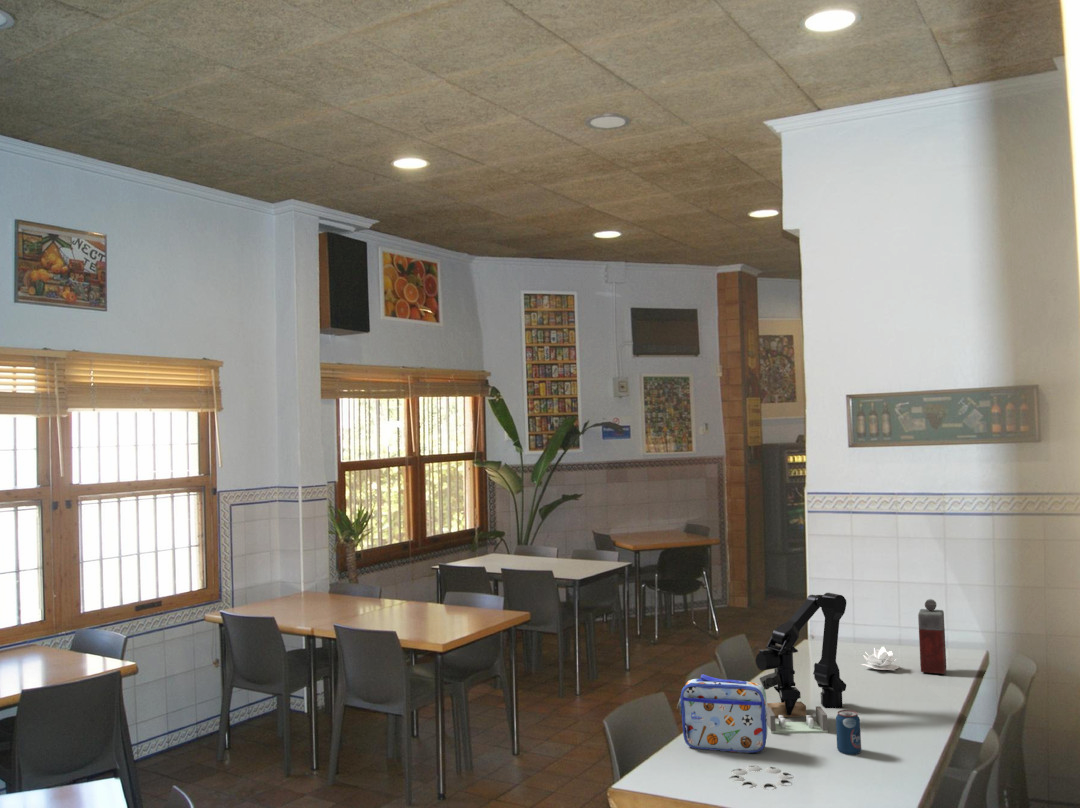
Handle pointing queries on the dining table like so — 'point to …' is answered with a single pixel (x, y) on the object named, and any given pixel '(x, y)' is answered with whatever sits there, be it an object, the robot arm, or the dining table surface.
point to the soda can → (848, 732)
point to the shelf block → (781, 710)
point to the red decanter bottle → (932, 639)
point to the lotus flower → (881, 660)
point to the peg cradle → (798, 723)
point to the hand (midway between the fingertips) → (786, 712)
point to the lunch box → (724, 715)
